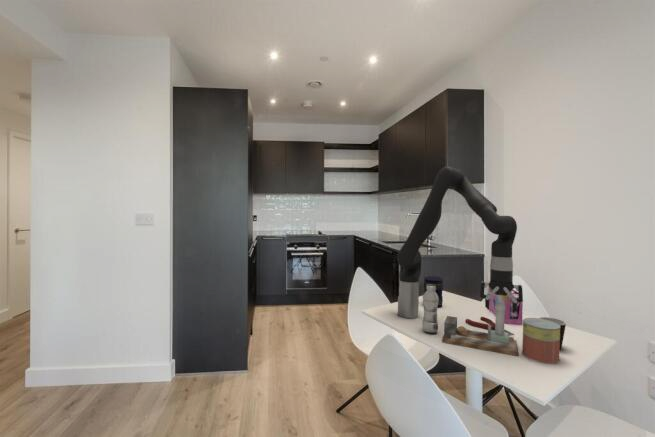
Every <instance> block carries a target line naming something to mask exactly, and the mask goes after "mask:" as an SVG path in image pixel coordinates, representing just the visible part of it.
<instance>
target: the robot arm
mask: <svg viewBox="0 0 655 437" xmlns="http://www.w3.org/2000/svg"><path fill="white" fill-rule="evenodd" d="M448 190H453V191H455V192H456V193H458V194H459V195H461V196H462V197H463V199H465V202H466V204H467V205H468V207H469V209H471V211H473V212H474V213H475V214H476V215H477V216H478V217H479V218H480V219H481V221H482V222H483V224H484V227H485V228H486V229H487V231H489V232H490V233H492V234H494V235H497V238H496V240H494V241H492V243H491V252H490V254H491V255H490V263H489V264H490V265H489V268H490V269H489V270H490V271H489V278H490V279H489V280H490V281H489V282H486V281H484V280H482V281H481V282H480V295H479V296H480V298H482V299H484V302H485V303H484V307H485V308H486V310H488V311H490V310H489V298H490V297H491V296H493V294H494V293H495V294H496V295H503V296H506V295H508V296H509V297H510V298H511V299H512V301H513V302H512V312H513V313H515V311H517V303H518V302H523V303H524V298H523V297H524V296H523V295H524V294H523V292H524V291H523V286H522V284H517V285H516V284H514V283H513V280H514V279H513V276H514V275H513V274H514V273H513V271H514V270H513V269H514V263H513V262H514V260H513V245H514V242H515V238H516V234H517V231H518V224H517V221H516V220H515V218H513V216H512V215H511V216H510V215H499V214H498V213H497V212H498V208H497V206H496V205H495V204H493V202H492V201H490V200H489V199H488V198H487V197H486V196H485V195H483V194H482V193H481V192H480V191H479V190H478V189H476V187H475V186H474V185H473V183H472V182H470V180H469V179H468V177H467V176H466V174H464V173H463V171H461V170H460V169H458V168H454V167H453V166H452V167H451V166H448V165H447V166H444V167H442V168H441V169H440V170H439V171H438V173H437V174H436V177H435V179H434V182H433V185H432V187H431V189H430V192H429V194H428V196H427V199H426V201H425V203H424V205H423V207H422V208H421V211H420V213H419V214H418V216H417V218H416V220H415V222H414V225H413V226H412V229H411V231H410V233H409V235H408V237H407V239H406V240H405V242H404V244H402V247H401V248H400V249H399V252H398V253H397V255H396V260H397V261H396V262H397V264H398V265H399V266H400V267H402V271H401V272H400V274H399V282H398V283H399V288H398V289H399V290H398V292H399V293H398V296H397V316H399V317H402V318H405V319H416V318H418V317H419V304H420V303H419V299H420V298H419V297H420V295H419V294H420V293H419V291H420V287H419V286H420V277H421V273H422V254H421V252H420V248H421V246H422V245H423V244H424V242H426V240H427V239H428V238H429V237H430V236H431V235H432V233H433V232H435V229H436V227H437V226H438V224H439V222H440V221H441V217H442V209H443V208H442V207H443V206H442V203H443V199H444V197H445V195H446V193H447V191H448ZM487 287H488V288H489V287H490V288H491V291H490V292H489V291H488V293H487V294H485V289H487ZM514 289H515V291H516V292H518V296H519V298H515V297H514V295H513V294H512V293H511V291H512V290H514Z"/></svg>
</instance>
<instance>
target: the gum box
mask: <svg viewBox="0 0 655 437" xmlns="http://www.w3.org/2000/svg"><path fill="white" fill-rule="evenodd" d="M490 291H491V288H490V287H489V286H488V293H489V292H490ZM511 293H512V294H513V295H514V297H515V298H519V296H518V291H516V289H515V290H514V289H513V290H512V291H511ZM499 302H500V303H503V304H504V305H505V307H506V309H505V318H504V324H508V325H509V324H510V325H523V307H524V306H523V304H524V301H523V302H518V303H517V311H515V313H513V312H512V302H513V301H512V299H511V298H510V297H509V296H508V295H506V296H503V295H496V294H495V293H494V294H493V296H491V297H490V298H489V310H488V311H490V312H491V313H492V314H493V315H494V316H496V309H495V305H496V304H497V303H499Z"/></svg>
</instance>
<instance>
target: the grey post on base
mask: <svg viewBox="0 0 655 437" xmlns="http://www.w3.org/2000/svg"><path fill="white" fill-rule="evenodd" d="M495 309H496V315H495V319H494V320H495V322H494V323H495V331H494V330H491V325H490V324H489V325H488V330H487V333H488V341H494V342H500V343H506V344H509V336H510V335H509V334H508V333H507V332H504V329H505V323H504V318H505V309H506V307H505V305H504V304H503V303H500V302H499V303H497V304H496V305H495ZM508 335H509V336H508Z"/></svg>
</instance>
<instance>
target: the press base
mask: <svg viewBox="0 0 655 437" xmlns="http://www.w3.org/2000/svg"><path fill="white" fill-rule="evenodd" d="M443 322H444V323H443V325H444V327H443V328H444V330H443V335H442V338H441V343H442V344H443V343H445V344H450V345H454V346H460V347H466V348H472V349H477V350H481V351H487V352H493V353H498V354H504V355H510V356H515V357H519V348H518V342H517V340H516V339H515V338H514V336H511V335H509V344H506V343H500V342H494V341H488V332H484V331H479V330H471V329H467V328H466V327H465V326H463V325H460V326H458V317H457V316H450V315H446V318H445V320H444V321H443Z"/></svg>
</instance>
